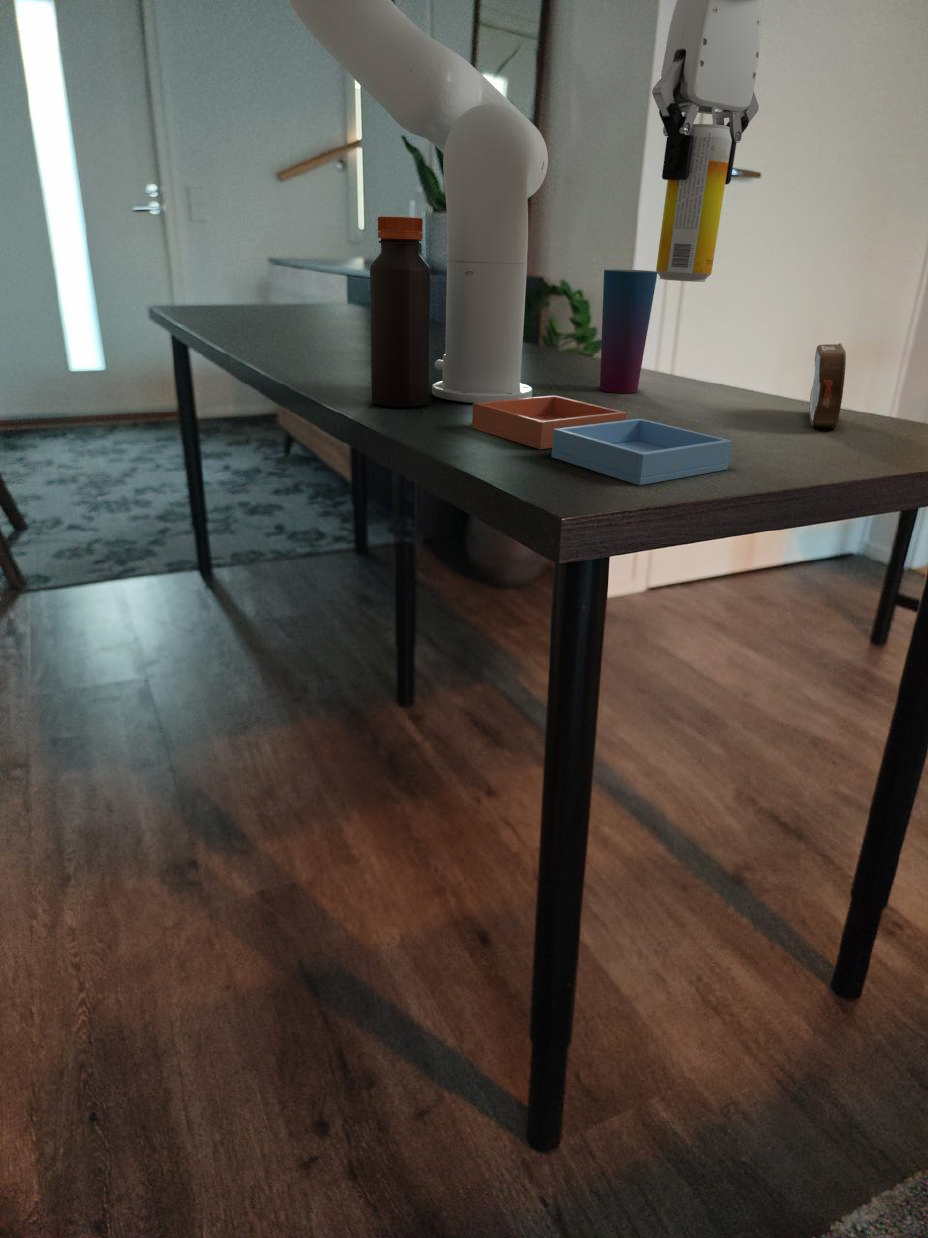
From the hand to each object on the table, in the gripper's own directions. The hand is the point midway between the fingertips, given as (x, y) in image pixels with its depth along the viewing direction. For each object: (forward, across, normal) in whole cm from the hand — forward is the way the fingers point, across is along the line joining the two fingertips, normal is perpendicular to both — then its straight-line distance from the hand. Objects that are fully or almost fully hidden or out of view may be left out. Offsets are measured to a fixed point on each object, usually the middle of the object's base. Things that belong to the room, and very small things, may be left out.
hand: (696, 179), depth 92 cm
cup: (+25, -6, -14) cm, 29 cm away
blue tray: (+25, +22, +17) cm, 37 cm away
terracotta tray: (+25, +21, +3) cm, 33 cm away
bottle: (+25, +26, -18) cm, 40 cm away
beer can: (+10, 0, 0) cm, 10 cm away
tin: (+25, -12, +13) cm, 30 cm away
